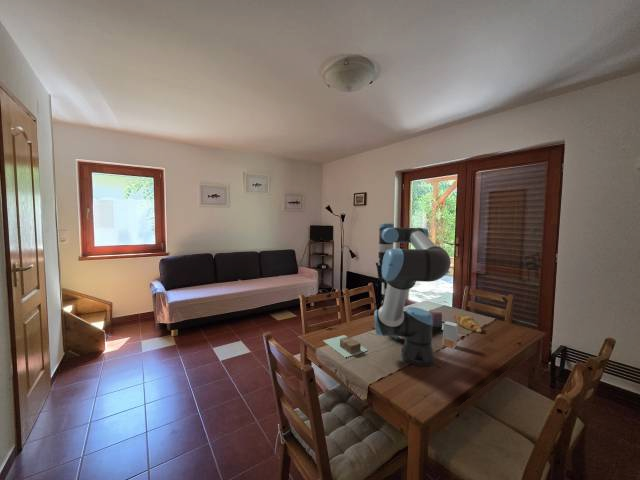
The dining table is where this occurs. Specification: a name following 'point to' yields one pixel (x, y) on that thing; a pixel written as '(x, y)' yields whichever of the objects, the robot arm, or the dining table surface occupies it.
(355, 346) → the walnut block
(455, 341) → the skincare box
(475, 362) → the dining table surface
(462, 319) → the croissant
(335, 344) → the mat
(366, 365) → the dining table surface
